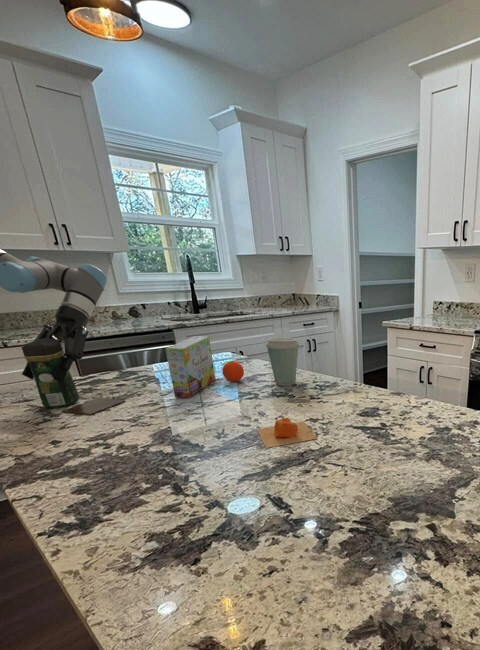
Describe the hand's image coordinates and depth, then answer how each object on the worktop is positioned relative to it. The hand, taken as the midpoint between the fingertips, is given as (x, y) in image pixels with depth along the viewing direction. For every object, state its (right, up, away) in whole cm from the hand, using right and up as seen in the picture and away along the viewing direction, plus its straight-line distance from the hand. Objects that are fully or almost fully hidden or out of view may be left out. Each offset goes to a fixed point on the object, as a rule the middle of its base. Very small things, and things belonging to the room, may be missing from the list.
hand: (42, 378), depth 116 cm
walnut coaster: (+12, -8, +3) cm, 15 cm away
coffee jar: (+1, -7, +6) cm, 9 cm away
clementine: (+44, +3, +27) cm, 52 cm away
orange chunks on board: (+72, -16, -15) cm, 76 cm away
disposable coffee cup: (+63, +2, +24) cm, 67 cm away
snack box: (+35, 0, +20) cm, 40 cm away
